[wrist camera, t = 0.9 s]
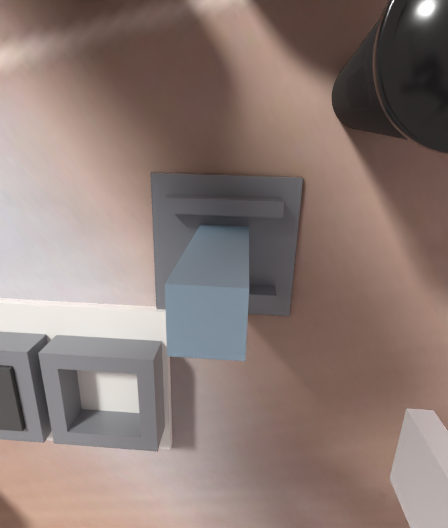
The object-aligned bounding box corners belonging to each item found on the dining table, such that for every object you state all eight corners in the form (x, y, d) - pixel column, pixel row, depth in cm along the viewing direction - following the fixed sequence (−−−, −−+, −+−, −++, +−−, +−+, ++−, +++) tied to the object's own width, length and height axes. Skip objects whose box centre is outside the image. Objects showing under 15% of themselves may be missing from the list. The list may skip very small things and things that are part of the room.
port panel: (-59, 294, 33) (-103, 316, 29) (168, 307, 32) (156, 331, 28) (-25, 427, 38) (-58, 461, 34) (172, 442, 37) (163, 479, 33)
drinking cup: (374, 168, 27) (672, 226, 8) (291, 115, 26) (405, 38, 7) (444, 72, 24) (1100, -170, 6) (355, 9, 24) (775, -521, 5)
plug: (200, 224, 29) (164, 284, 16) (248, 226, 28) (249, 288, 16) (200, 269, 30) (167, 356, 18) (246, 271, 30) (245, 361, 18)
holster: (152, 172, 28) (143, 175, 26) (302, 177, 27) (307, 180, 25) (157, 306, 32) (150, 319, 30) (288, 313, 31) (292, 327, 29)
